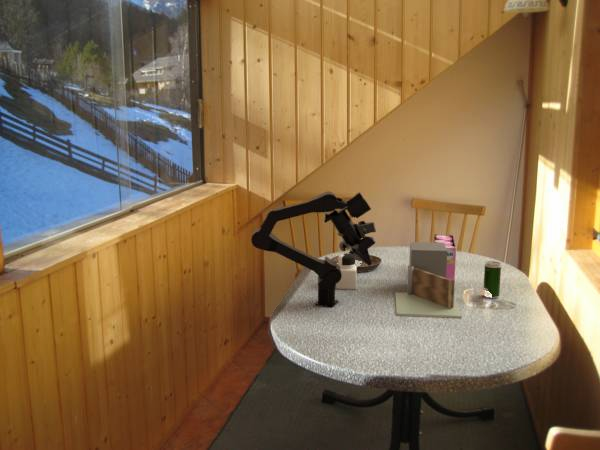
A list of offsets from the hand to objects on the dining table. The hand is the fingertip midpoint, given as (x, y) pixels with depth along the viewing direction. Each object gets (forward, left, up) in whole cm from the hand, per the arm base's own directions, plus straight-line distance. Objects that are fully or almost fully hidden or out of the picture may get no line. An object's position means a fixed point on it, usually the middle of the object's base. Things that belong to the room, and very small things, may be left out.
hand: (370, 264), depth 209 cm
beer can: (+23, -37, -14) cm, 45 cm away
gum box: (+44, -16, -14) cm, 49 cm away
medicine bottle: (+16, +13, -14) cm, 25 cm away
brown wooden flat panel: (+8, -19, -12) cm, 24 cm away
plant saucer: (+43, +18, -14) cm, 48 cm away
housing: (+11, -16, -13) cm, 24 cm away
